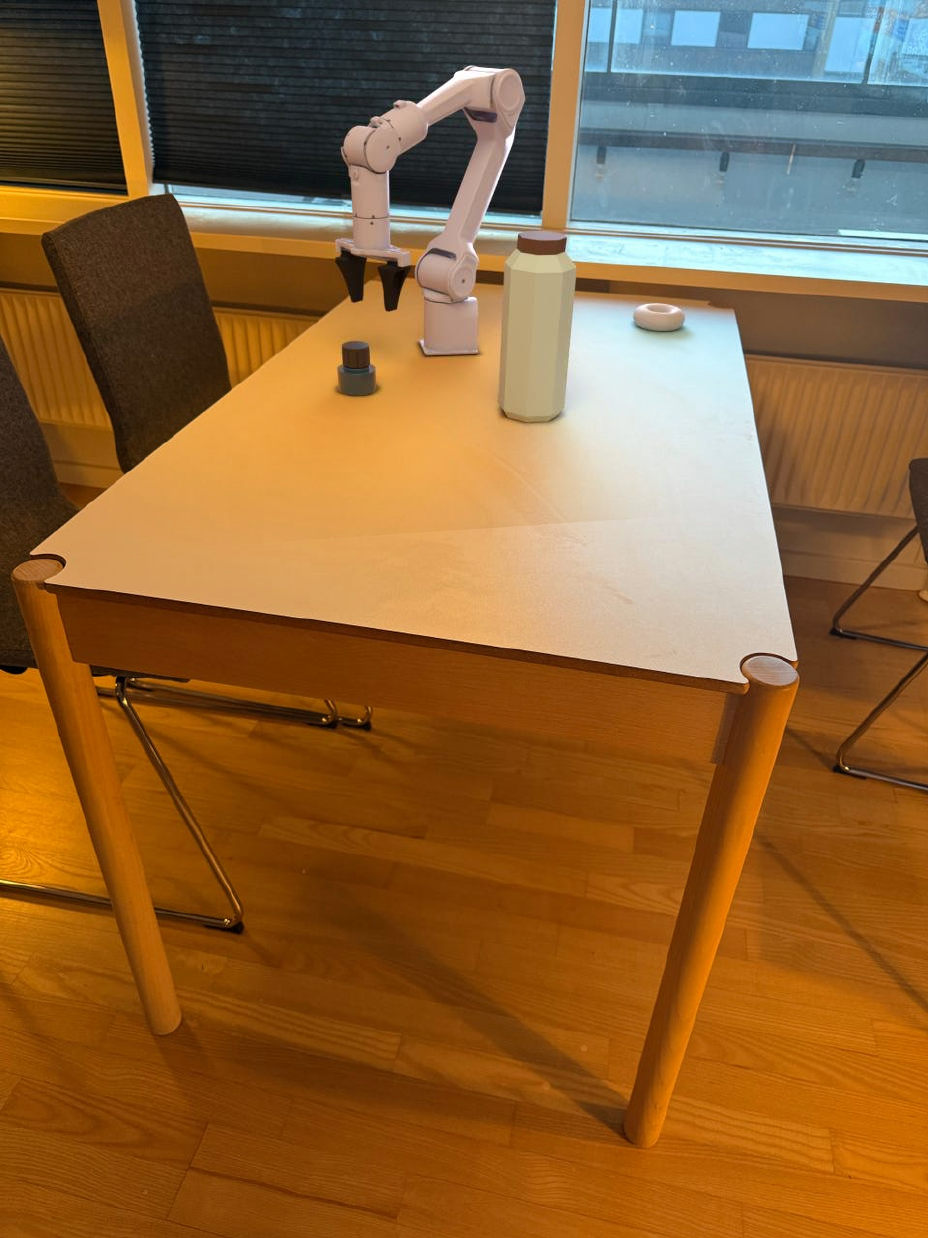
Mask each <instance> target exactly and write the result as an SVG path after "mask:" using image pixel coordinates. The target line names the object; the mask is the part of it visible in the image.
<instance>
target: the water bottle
mask: <svg viewBox="0 0 928 1238" xmlns="http://www.w3.org/2000/svg"><path fill="white" fill-rule="evenodd" d="M567 242H568V236H567V235H565V234H564V233H562V232H557V231H549V230H526V231H523V232H520V233H518V234H517V240H516V249H515V250H514V251H512V253H511V254H510V255H509V257H508V258H506V260H505V261H504V266H503V286H502V287H503V289H502V309H501V311H502V312H501V314H502V315H501V331H500V332H501V333H500V334H501V335H500V337H501V338H500V354H499V356H500V357H499V376H498V393H497V394H498V395H497V397H498V399H497V402H498V404H499V405H500V407H501V409H502V411H503V412H504V413H505V416H506V417H507V418H508V419H510V420H515V421H519V422H523V423H525V424H526V423H527V424H528V423H530V424H531V423H545V422H546V423H547V422H549V421H551V420H553V419H554V418H556V417H557V416H558V415H560V413H561V412H562V411H563V410H564V408H565V403H566V402H565V401H566V391H567V381H568V369H569V359H570V358H569V357H570V348H571V347H570V346H571V338H572V337H571V335H572V326H573V325H572V324H573V314H574V304H575V303H574V302H575V292H576V281H577V272H578V271H577V270H578V269H577V268H578V266H577V265H576V264H575V263H574V262H573V260H572V259H571V257H570V256H569V255H568V253H567V252H566V249H567Z"/></svg>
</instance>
